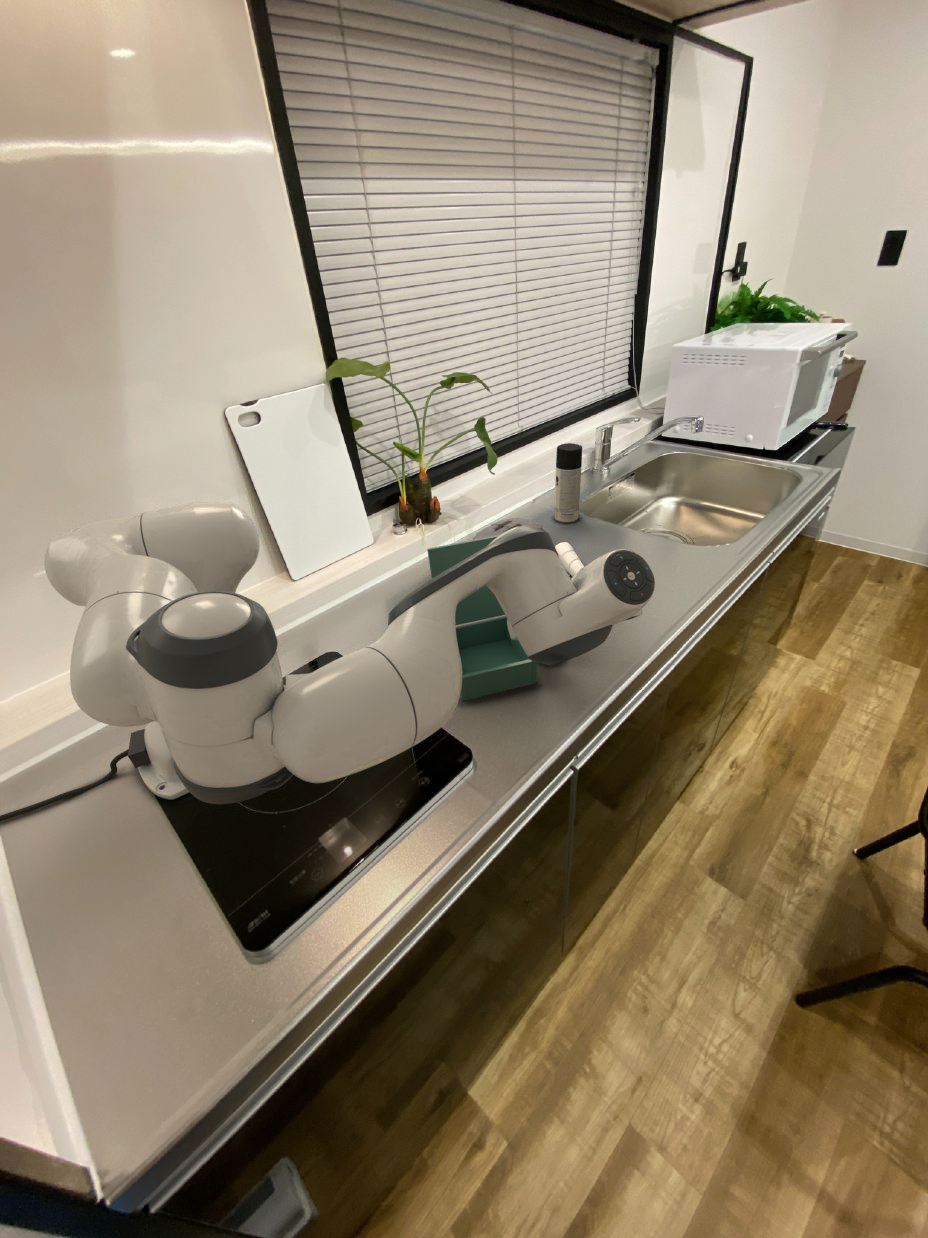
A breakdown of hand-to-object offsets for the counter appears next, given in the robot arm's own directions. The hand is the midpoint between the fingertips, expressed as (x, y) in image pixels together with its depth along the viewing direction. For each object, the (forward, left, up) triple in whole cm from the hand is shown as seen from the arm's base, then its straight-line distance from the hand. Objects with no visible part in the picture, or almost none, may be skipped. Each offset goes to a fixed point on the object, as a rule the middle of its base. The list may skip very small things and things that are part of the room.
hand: (557, 623), depth 92 cm
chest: (-9, +9, -10) cm, 16 cm away
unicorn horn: (+28, +14, -10) cm, 33 cm away
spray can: (+53, +37, -10) cm, 65 cm away
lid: (-5, +16, +4) cm, 17 cm away
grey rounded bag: (+28, +35, -10) cm, 46 cm away
